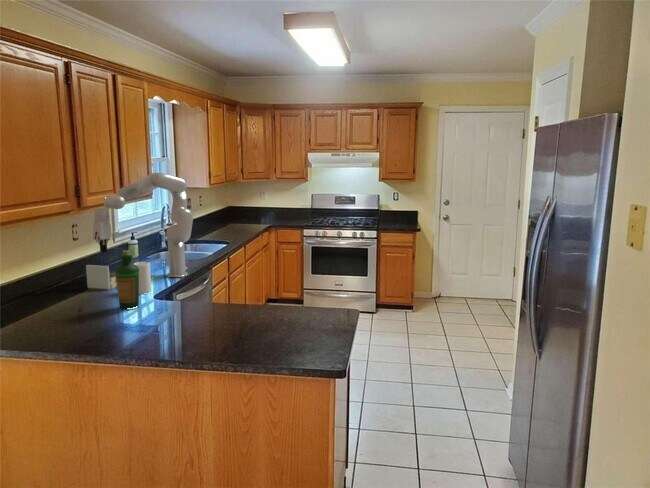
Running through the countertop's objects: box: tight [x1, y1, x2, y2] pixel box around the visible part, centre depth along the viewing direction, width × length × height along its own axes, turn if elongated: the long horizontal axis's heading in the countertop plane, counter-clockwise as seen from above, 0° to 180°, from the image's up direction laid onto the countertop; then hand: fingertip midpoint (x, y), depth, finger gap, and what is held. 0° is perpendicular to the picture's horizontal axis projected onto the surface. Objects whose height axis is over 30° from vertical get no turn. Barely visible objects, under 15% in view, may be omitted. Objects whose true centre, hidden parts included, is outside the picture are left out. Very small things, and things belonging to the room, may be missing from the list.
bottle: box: [114, 249, 140, 310], centre depth 219 cm, size 11×11×28 cm
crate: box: [109, 272, 117, 290], centre depth 256 cm, size 12×13×6 cm
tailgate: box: [85, 264, 111, 291], centre depth 248 cm, size 1×13×14 cm, turn 80°
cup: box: [133, 261, 152, 295], centre depth 246 cm, size 8×8×16 cm
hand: (103, 251), depth 252 cm, fingers closed
